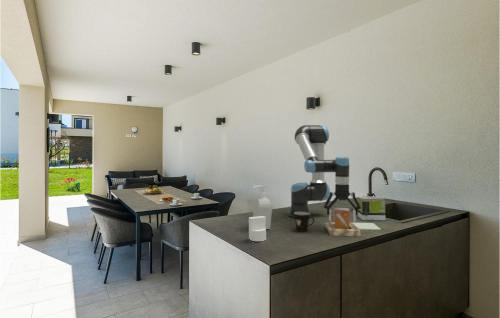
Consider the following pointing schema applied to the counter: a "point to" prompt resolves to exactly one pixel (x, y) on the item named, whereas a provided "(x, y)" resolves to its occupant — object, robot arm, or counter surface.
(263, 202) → the soap bottle
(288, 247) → the counter surface
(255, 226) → the base with upright slab
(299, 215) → the coffee mug
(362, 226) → the sage pad
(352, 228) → the pocket block
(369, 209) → the tea box
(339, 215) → the small box
